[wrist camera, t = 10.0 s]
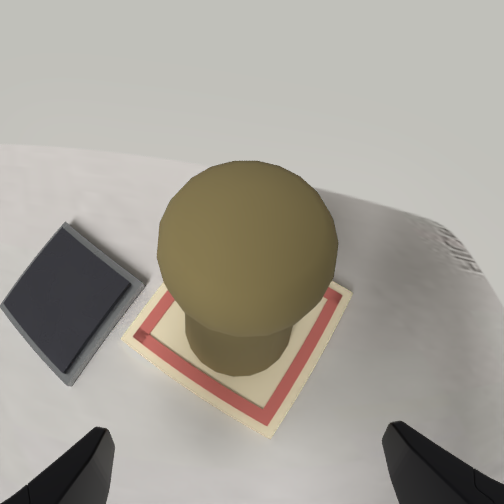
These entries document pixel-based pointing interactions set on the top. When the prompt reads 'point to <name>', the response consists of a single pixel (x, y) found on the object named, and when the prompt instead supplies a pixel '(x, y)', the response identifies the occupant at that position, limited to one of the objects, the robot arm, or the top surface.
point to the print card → (241, 387)
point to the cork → (245, 261)
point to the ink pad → (69, 301)
